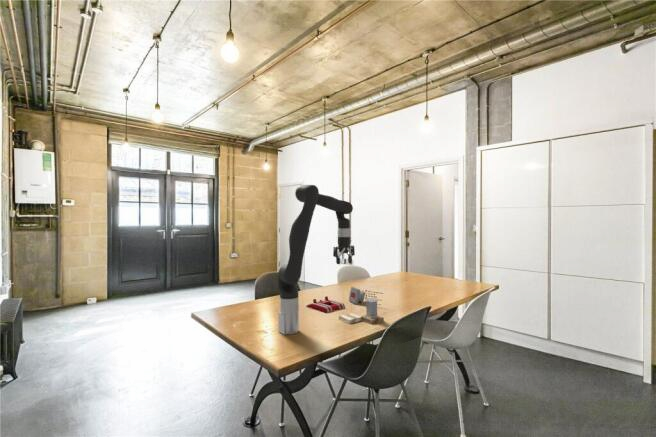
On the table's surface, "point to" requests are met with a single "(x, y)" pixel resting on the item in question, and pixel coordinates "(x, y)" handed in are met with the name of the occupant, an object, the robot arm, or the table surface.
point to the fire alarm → (326, 305)
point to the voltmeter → (358, 295)
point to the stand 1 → (350, 318)
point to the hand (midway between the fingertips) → (344, 263)
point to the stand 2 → (372, 321)
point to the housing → (371, 308)
